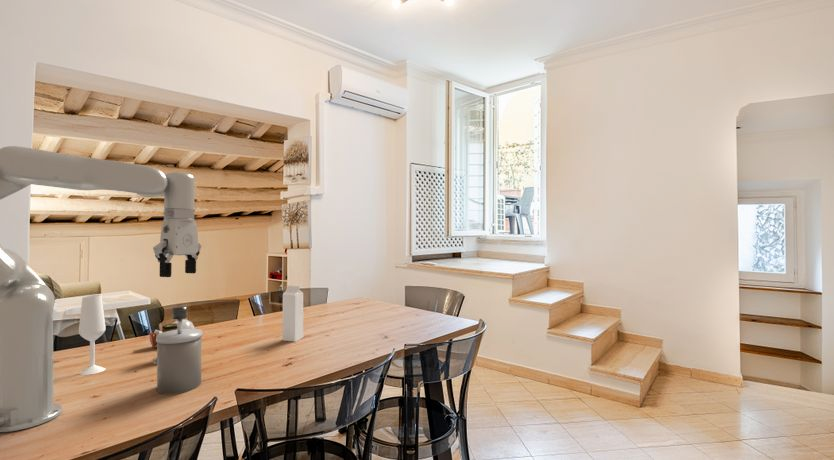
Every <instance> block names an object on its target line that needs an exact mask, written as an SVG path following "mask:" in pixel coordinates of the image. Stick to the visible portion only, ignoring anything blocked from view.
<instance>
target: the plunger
mask: <svg viewBox="0 0 834 460" xmlns="http://www.w3.org/2000/svg"><path fill="white" fill-rule="evenodd" d="M186 318H188V306H187V305H179V306H174V307H172V320H176V321H177V334H181V333H182V319H186Z"/></svg>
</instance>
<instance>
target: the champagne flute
mask: <svg viewBox="0 0 834 460" xmlns="http://www.w3.org/2000/svg"><path fill="white" fill-rule="evenodd" d="M79 318H80V319H79V324H78V325H79V326H78V335H80V337H81V338H83V339H84V340H86V341H89V366H87V367H86V368H84V369H82V370H81V371H79V372H78V375H80V376H89V375H90V376H91V375H95V374H99V373H102V372H104V371H105V370H106V368H105V367H102V366H101V365H96V364H95V363H96V360H95V359H96V356H95V355H96V354H95V353H96V351H95V350H96V349H95V347H96V345H95V344H96V343H95V342H96V340H98V339H99V338H100V337H101V336H102V335H103V334H104V333H105V332H106V320H105V311H104V303H103V295H102V294H89V295H88V294H87V295H84V296H83V295H82V299H81V308H80V317H79Z"/></svg>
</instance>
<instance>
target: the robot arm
mask: <svg viewBox="0 0 834 460" xmlns="http://www.w3.org/2000/svg"><path fill="white" fill-rule="evenodd" d="M195 182H196V179H195V176H194V175H192V174H190V173H186V172H180V171H179V172H178V171H176V172H175V171H171V172H168V173H164V172H163V171H162V170H160V169H158V168H156V167H153V166H148V165H142V164H137V163H132V162H131V163H130V162H124V161H118V160H109V159H100V158H95V157H88V156H87V157H86V156H79V155H75V154H66V153H63V152H62V153H61V152H55V151H48V150H43V149H37V148H30V147H26V146H24V147H23V146H16V145H14V146H13V145H12V146H3V147H1V148H0V201H1V200H3V199H5V198H7V197H9V196H11V195H13V194H15V193H17V192H20V191H22V190H23V189H26V188H27V187H29V186H30V185H36V186H45V187H52V188H62V189H69V190H75V191H76V190H77V191H97V190H98V191H99V190H101V191H102V190H103V191H105V190H106V191H116V192H124V193H126V192H127V193H134V194H135V195H136V194H137V195H138V196H140V197H142V198H143V197H144V198H154V197H155V198H156V197H157V198H159V197H163V199H164V200H163V220H162V224H161V231H160V241H159V242H158V243H157V244H156V245H154V246H153V247H152V250H153V253H154V256H155V258H156V259H157V262H158V263H159V277H160V278H171V277H172V268H173V267H172V265H173V264H172V262H171V260H172V258H173V257H174V256H185V258H186V259H185V260H184V263H185V264H184V273H185V274H196V273H197V260H198V258H199V255H200V253H201V252H200V251H201V248H202V245H201V244H200V243H199V234H198V232H199V231H198V225H197V222H196V220H195V194H196V192H195V188H196V184H195ZM54 294H55V293H54V292H53V290H51V288H50V287H49V286H48V285H47V284H46V283H45V281H44V280H42V278H41V277H40V276H39V275H38V273H36V272H35V271H34V269H33V268H32V267H31V266H30V265H29V264H28V263H27V262H26V260H25V259H23V257H22V256H20V255H19V254H18V253H17V252H15V251H13V250H10V249H7V248H3V246H1V244H0V433H9V432H15V431H21V430H24V429H25V430H26V429H29V428H34V427H36V426H39V425H43V424H44V423H47V422H50V421H52V420H53V419H55V418H57V417H58V416H59V415H61V413H62V411H63V410H62V409H63V408H62V407H63V406H62V405H60V404H59V403H54V307H55V303H56V302H55V301H56V297H55V295H54Z"/></svg>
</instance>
